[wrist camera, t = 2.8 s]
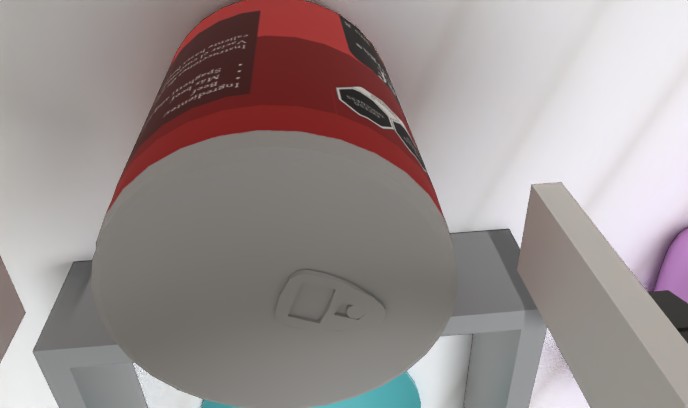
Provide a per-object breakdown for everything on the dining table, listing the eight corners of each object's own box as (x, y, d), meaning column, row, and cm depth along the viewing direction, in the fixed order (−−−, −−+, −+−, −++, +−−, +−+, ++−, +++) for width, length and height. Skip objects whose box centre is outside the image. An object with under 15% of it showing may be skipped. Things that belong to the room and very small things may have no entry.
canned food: (376, 186, 24) (431, 412, 15) (178, 180, 23) (112, 417, 14) (402, -3, 20) (500, 153, 11) (162, -20, 19) (54, 137, 10)
